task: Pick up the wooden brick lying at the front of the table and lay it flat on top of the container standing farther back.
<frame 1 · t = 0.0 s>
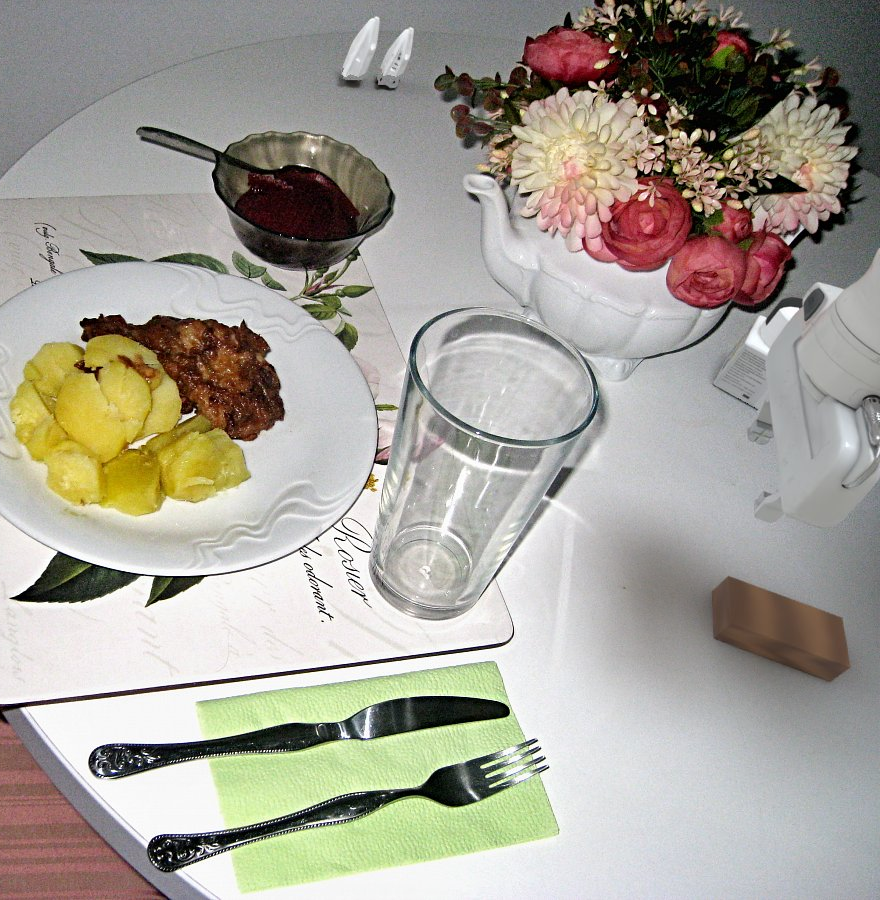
hand: (758, 474, 77), 19 cm above the table, tool pointing down, fingers open, 8 cm apart
wooden brick: (769, 635, 91), on the table
shaker set: (368, 84, 153), on the table
container: (745, 386, 118), on the table
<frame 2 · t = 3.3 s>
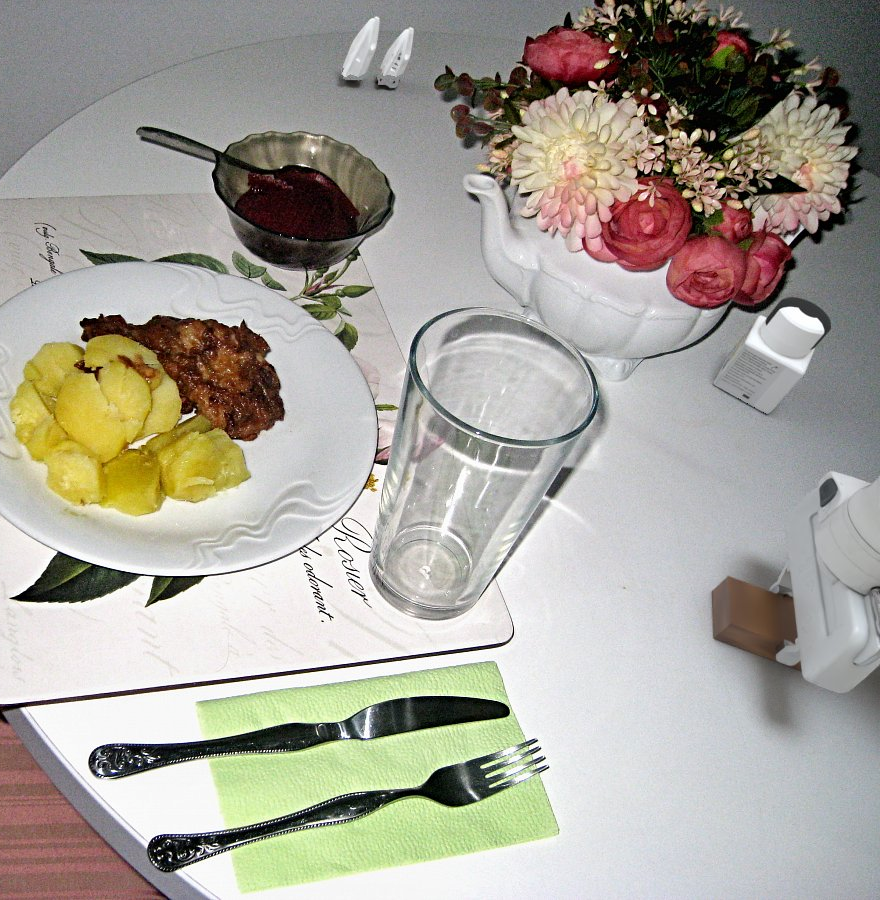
hand: (779, 626, 90), 2 cm above the table, tool pointing down, fingers closed on wooden brick, 6 cm apart
wooden brick: (769, 635, 91), on the table, touching gripper
everything else where it was.
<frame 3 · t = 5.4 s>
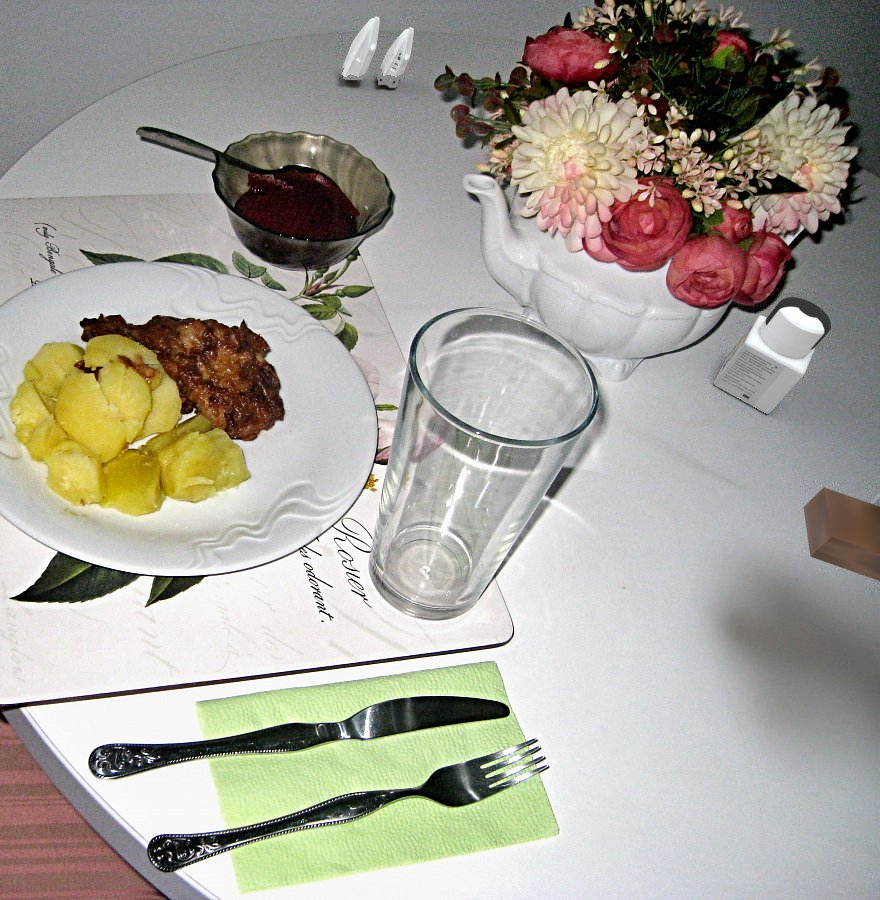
wooden brick: (872, 554, 80), point 15 cm above the table, touching gripper
everything else where it was.
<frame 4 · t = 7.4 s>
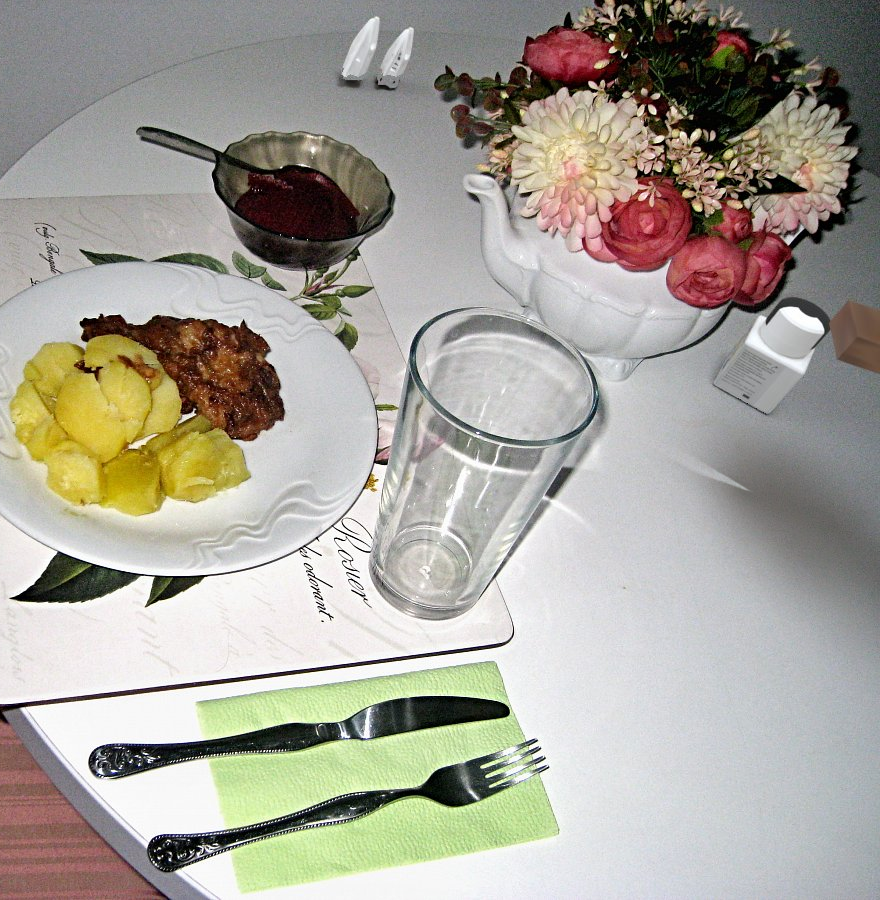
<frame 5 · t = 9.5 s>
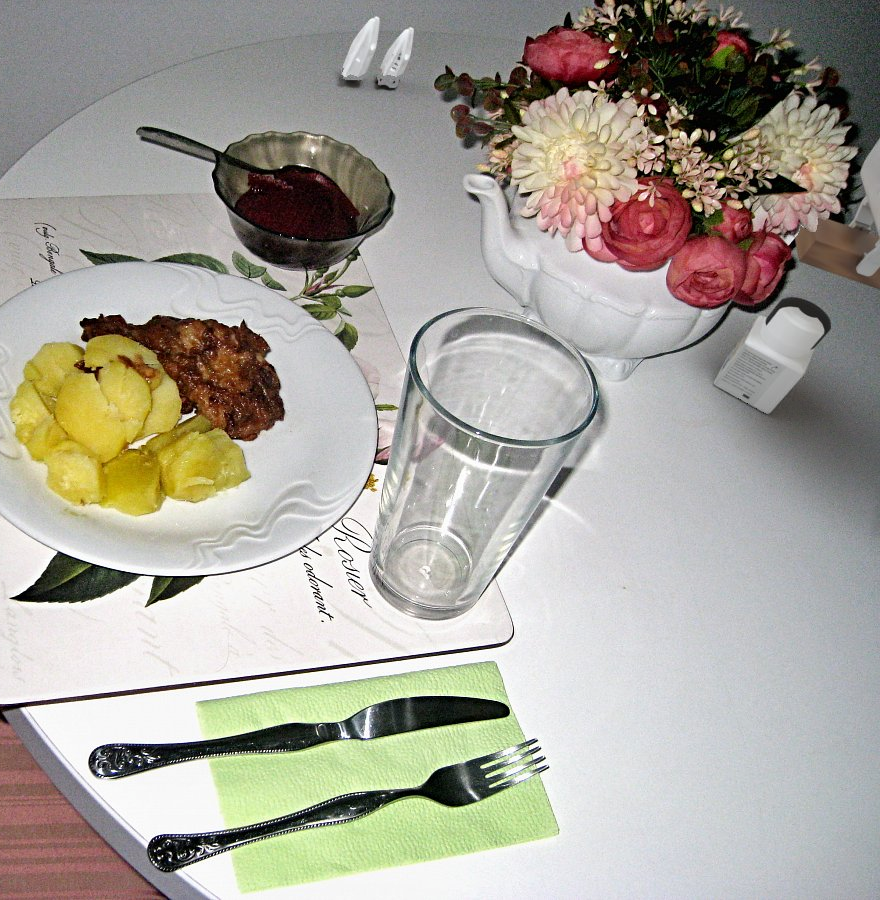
hand: (856, 253, 102), 22 cm above the table, tool pointing down, fingers closed on wooden brick, 6 cm apart
wooden brick: (846, 265, 103), point 20 cm above the table, touching gripper
everything else where it was.
when the fingers open (15 cm above the table, at t = 11.6 s): wooden brick stays where it is, resting on container.
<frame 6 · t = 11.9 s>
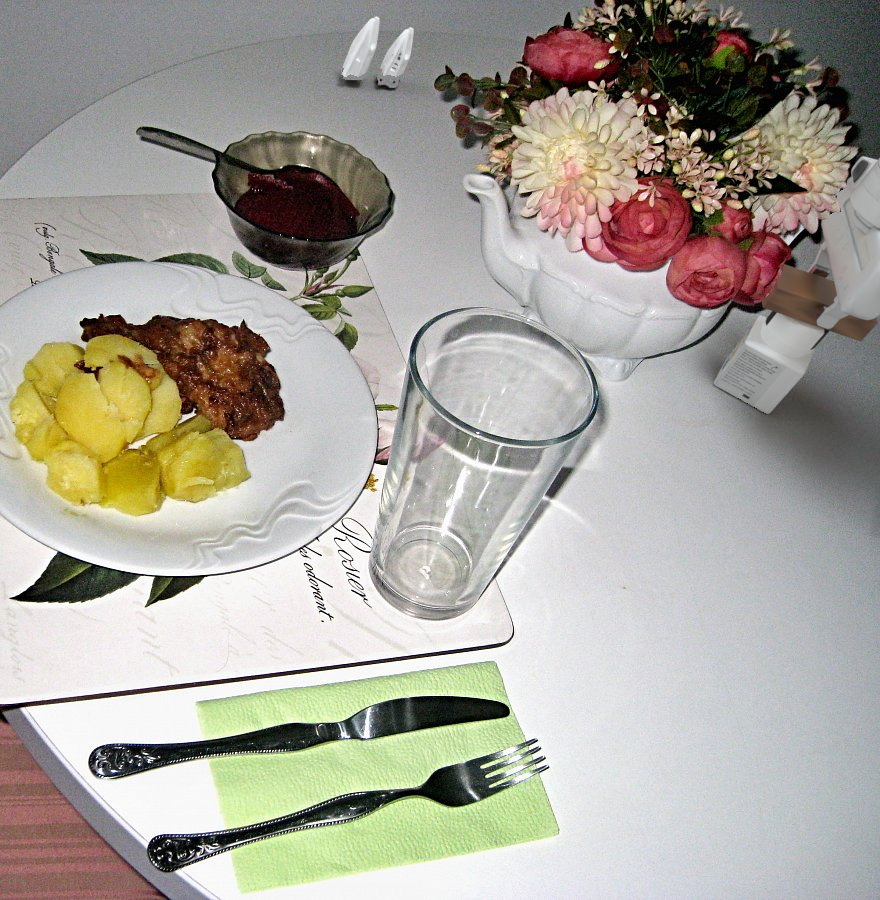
hand: (817, 300, 107), 15 cm above the table, tool pointing down, fingers open, 8 cm apart
wooden brick: (808, 310, 108), point 13 cm above the table, touching container
container: (745, 386, 118), on the table, touching wooden brick
everything else where it was.
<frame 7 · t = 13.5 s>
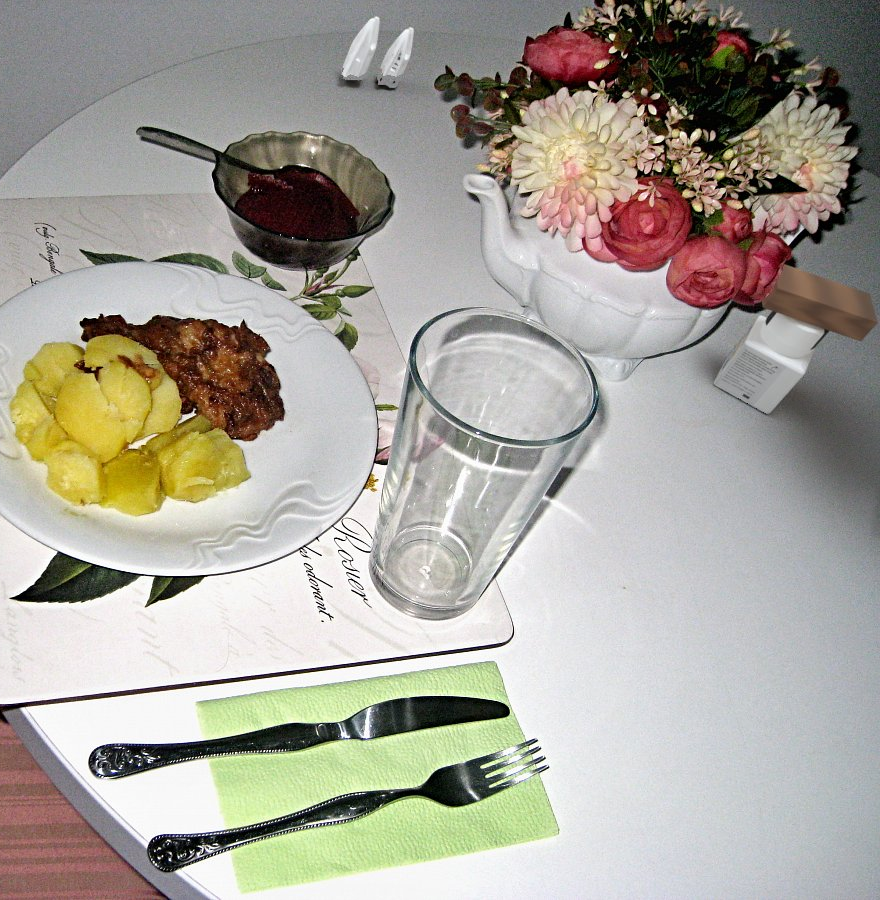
nothing on the table moved.
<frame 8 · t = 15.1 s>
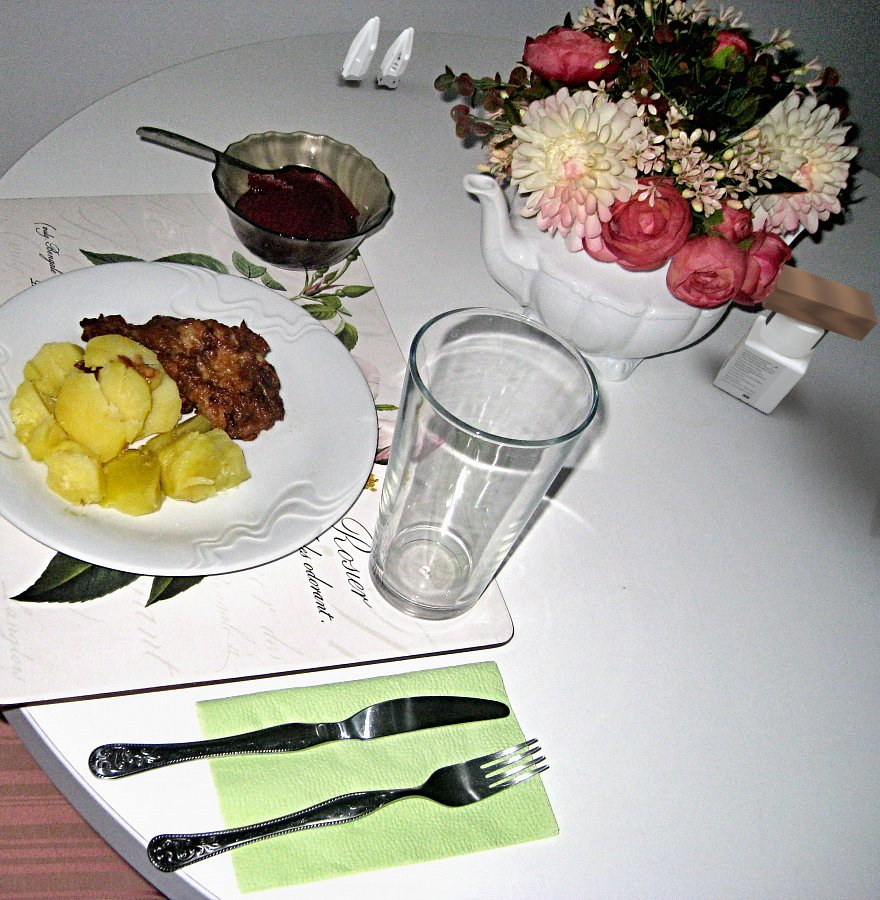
nothing on the table moved.
at the end: wooden brick 0.1 cm off-centre on the container, point 13.2 cm above the container's base; wooden brick tilted 0° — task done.
